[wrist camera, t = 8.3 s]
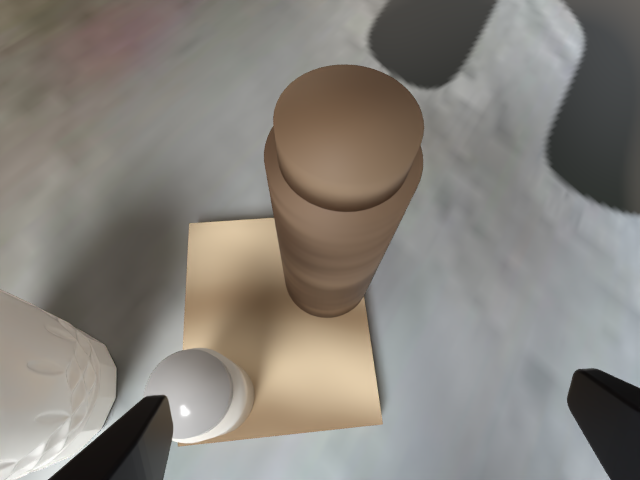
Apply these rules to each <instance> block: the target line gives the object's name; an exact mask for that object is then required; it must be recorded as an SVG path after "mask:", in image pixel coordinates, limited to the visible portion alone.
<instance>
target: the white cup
mask: <svg viewBox="0 0 640 480" xmlns="http://www.w3.org/2000/svg"><path fill="white" fill-rule="evenodd" d="M116 377H117V368H116V366H115V364H114V362H113V360H112V358H111V356H110V354H109V352H108V350H107V348H106V346H105V345H104V344H103V343H101V342H100V341H98V340H96V339H95V338H93V337H91V336H90V335H88V334H87V333H85V332H83V331H81V330H79V329H77V328H74V326H73V325H71V324H70V323H68V322H66V321H64V320H62V319H60V318H58V317H56V316H54V315H52V314H50V313H48V312H46V311H44V310H42V309H40V308H38V307H37V306H35V305H33V304H31V303H29V302H27V301H25V300H23V299H21V298H18V297H16V296H14V295H12V294H10V293H8V292H5V291H3V290H1V289H0V480H15V479H18V478H20V477H23V476H25V475H27V474H28V473H31V472H34V471H38V470H41V469H44V468H46V467H49V466H51V465H53V464H55V463H58V462H60V461H62V460H65V459H67V458H69V457H71V456H74V455H76V454H77V453H78V452H79V451H80V450H81V449H82V448H83V447H84V446H85V445H86V444H87V443H88V442H89V441H90V440H91V439H92V438H93V437H94V436H95V435H96V434H97V433H98V432H99V431H100V430H101V429H102V427H103V425H104V423H105V420H106V418H107V416H108V414H109V412H110V410H111V407H112V405H113V403H114V401H115V399H116Z"/></svg>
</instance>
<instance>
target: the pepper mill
mask: <svg viewBox="0 0 640 480" xmlns="http://www.w3.org/2000/svg"><path fill="white" fill-rule="evenodd" d="M273 124H274V126H273V127H272V129H271V131H270V133H269V135H268V138H267V141H266V144H265V150H264V163H265V169H266V174H267V180H268V186H269V192H270V197H271V203H272V209H273V215H274V220H275V226H276V232H277V238H278V243H279V249H280V255H281V260H282V266H283V272H284V278H285V283H286V288H287V291H288V293H289V296H290V297H291V299H292V300H293V302H294V303H295V304H296V305H297V306H298V307H299V308H300V309H302V310H303V311H304V312H306V313H308V314H310V315H313V316H316V317H321V318H333V317H338V316H341V315H344V314H346V313H348V312H350V311H351V310H353V309H354V308H355V307H356V306H357V305H358V304H359V303H360V301H361V300H362V298H363V297H364V295H365V293H366V291H367V288H368V286H369V284H370V282H371V280H372V278H373V276H374V274H375V272H376V270H377V268H378V266H379V264H380V262H381V260H382V258H383V256H384V254H385V252H386V250H387V248H388V246H389V244H390V242H391V240H392V238H393V235H394V233H395V231H396V229H397V227H398V225H399V223H400V221H401V219H402V217H403V215H404V213H405V211H406V209H407V207H408V205H409V203H410V201H411V199H412V197H413V195H414V193H415V191H416V189H417V186H418V184H419V182H420V179H421V175H422V171H423V154H422V150H421V146H420V144H421V141H422V138H423V132H424V121H423V116H422V112H421V110H420V107H419V105H418V103H417V101H416V100H415V98H414V97H413V96H412V94H411V93H410V92H409V91H408V90H407V89H406V88H405V87H404V86H403V85H402V84H401V83H399V82H398V81H397V80H395V79H394V78H392V77H390V76H388V75H386V74H384V73H382V72H380V71H377V70H374V69H371V68H367V67H363V66H357V65H332V66H326V67H321V68H318V69H315V70H312V71H310V72H308V73H305V74H303V75H302V76H300V77H298V78H297V79H296V80H294V81H293V82H292V83H290V85H289V86H288V87H287V88H286V89H285V90H284V91H283V93H282V94H281V95H280V97H279V99H278V101H277V104H276V107H275V110H274V116H273Z"/></svg>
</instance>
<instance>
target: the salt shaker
mask: <svg viewBox="0 0 640 480" xmlns="http://www.w3.org/2000/svg"><path fill="white" fill-rule="evenodd" d="M150 395H165V396H167V398H168V400H169V405H170V410H171V415H172V421H173V437H172V440H173V441H176V442H179V443H195V442H200V441H203V440H207V439H210V438H213V437H217V436H220V435H224V434H227V433H230V432H232V431H234V430H235V429H237V428H238V427H239V426H241V425H242V424H243V423H244V422H245V420H246V419H247V418H248V416H249V414H250V412H251V410H252V407H253V404H254V386H253V383H252V380H251V378H250V376H249V375H248V374H247V372H246V371H245V370H244V369H242V368H241V367H240V366H238V365H237V364H235V363H234V362H232V361H231V360H229V359H228V358H226V357H225V356H223V355H222V354H220V353H218V352H216V351H214V350H211V349H207V348H192V349H187V350H182V351H178V352H176V353H174V354H172V355H170V356H168V357H167V358H165V359H164V360H163V361H162V362H160V363H159V364H158V365H157V367H156V368H155V369H154V370H153V372H152V373H151V375H150V377H149V379H148V381H147V384H146V387H145V391H144V397H146V396H150Z"/></svg>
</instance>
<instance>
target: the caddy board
mask: <svg viewBox="0 0 640 480" xmlns="http://www.w3.org/2000/svg"><path fill="white" fill-rule="evenodd" d="M192 348H207V349H211V350H214V351H216V352H218V353H220V354H222V355H223V356H225V357H226V358H228V359H229V360H231V361H232V362H234V363H235V364H237V365H238V366H240V367H241V368H242V369H244V370H245V371H246V372H247V374H248V375H249V376H250V378H251V380H252V383H253V386H254V404H253V407H252V410H251V412H250V414H249V416H248V418H247V419H246V420H245V422H244V423H243V424H242V425H241V426H239V427H238V428H237V429H235V430H234V431H232V432H230V433H227V434H224V435H220V436H217V437H213V438H210V439H207V440H203V441H200V442H195V443H179V442H178V446H187V445H196V444H205V443H215V442H224V441H233V440H242V439H251V438H261V437H270V436H279V435H288V434H297V433H307V432H316V431H325V430H334V429H343V428H353V427H362V426H371V425H380V424H383V422H382V415H381V408H380V402H379V395H378V388H377V381H376V374H375V368H374V361H373V354H372V347H371V340H370V334H369V327H368V320H367V313H366V306H365V300H364V297H363V298H362V300H361V301H360V303H359V304H358V305H357V306H356V307H355V308H354V309H353V310H351V311H350V312H348V313H346V314H344V315H341V316H338V317H333V318H321V317H316V316H313V315H310V314H308V313H306V312H304V311H303V310H302V309H300V308H299V307H298V306H297V305H296V304H295V303H294V302H293V300H292V299H291V297H290V296H289V293H288V291H287V288H286V283H285V278H284V272H283V266H282V260H281V255H280V249H279V243H278V238H277V232H276V226H275V220H274V218H263V219H248V220H233V221H218V222H204V223H189V237H188V257H187V276H186V296H185V315H184V335H183V350H187V349H192Z"/></svg>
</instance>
